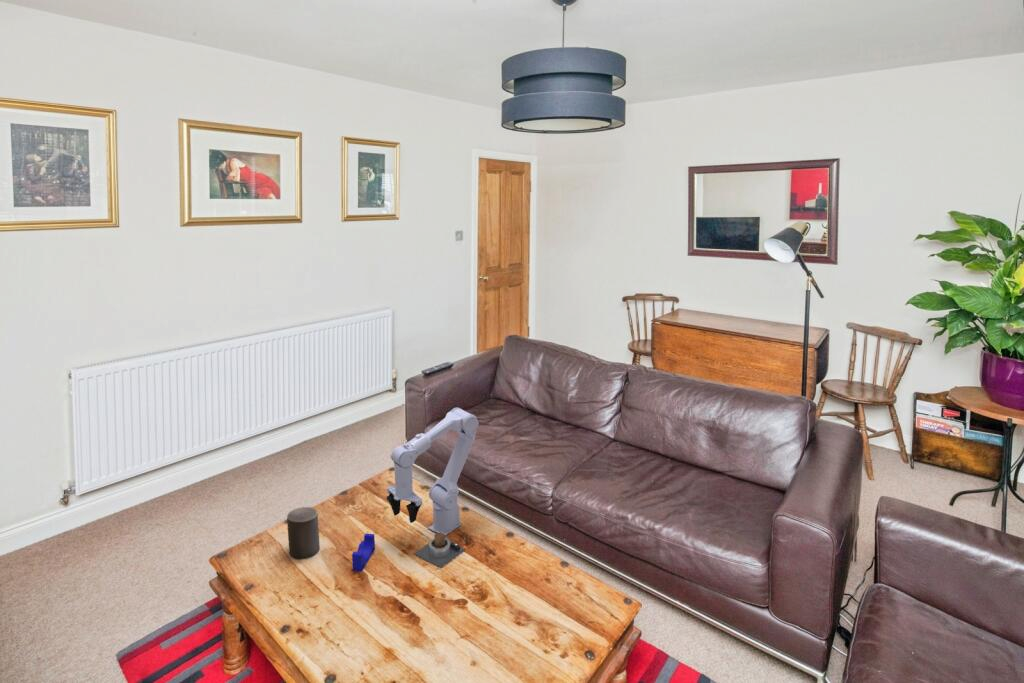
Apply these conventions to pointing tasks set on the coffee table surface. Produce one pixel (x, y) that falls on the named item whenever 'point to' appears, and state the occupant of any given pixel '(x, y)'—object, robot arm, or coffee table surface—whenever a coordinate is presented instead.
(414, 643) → the coffee table surface
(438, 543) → the dowel
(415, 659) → the coffee table surface
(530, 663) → the coffee table surface
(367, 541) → the cable clip
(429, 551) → the cup bracket
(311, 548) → the pillar candle
